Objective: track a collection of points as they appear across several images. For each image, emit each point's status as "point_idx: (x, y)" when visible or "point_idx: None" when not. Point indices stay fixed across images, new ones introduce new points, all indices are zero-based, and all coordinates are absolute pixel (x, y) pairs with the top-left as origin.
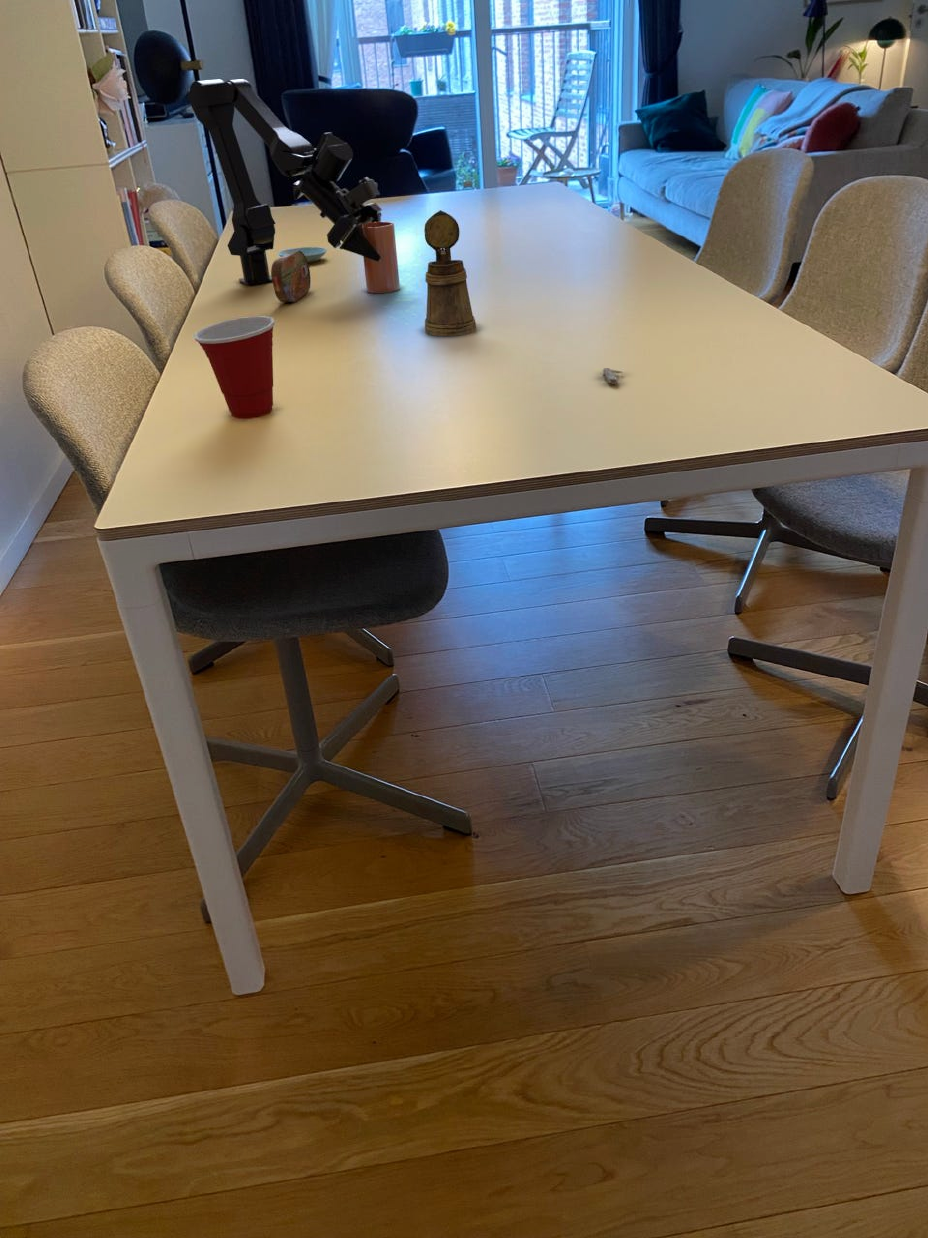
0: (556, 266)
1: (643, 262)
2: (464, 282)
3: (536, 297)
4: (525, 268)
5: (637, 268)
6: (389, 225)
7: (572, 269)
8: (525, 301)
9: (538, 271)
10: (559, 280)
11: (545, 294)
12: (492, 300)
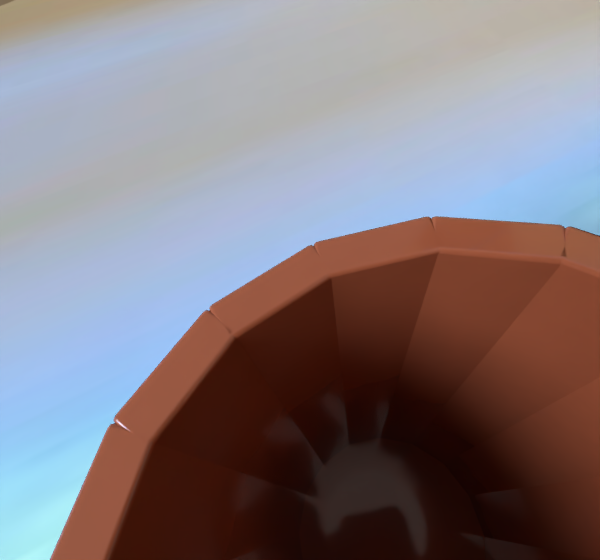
0: (20, 113)
1: (30, 21)
2: None
3: (351, 32)
4: (22, 160)
5: (83, 12)
6: (498, 223)
7: (66, 79)
8: (395, 32)
9: (72, 122)
10: (181, 58)
11: (320, 31)
12: (412, 78)
